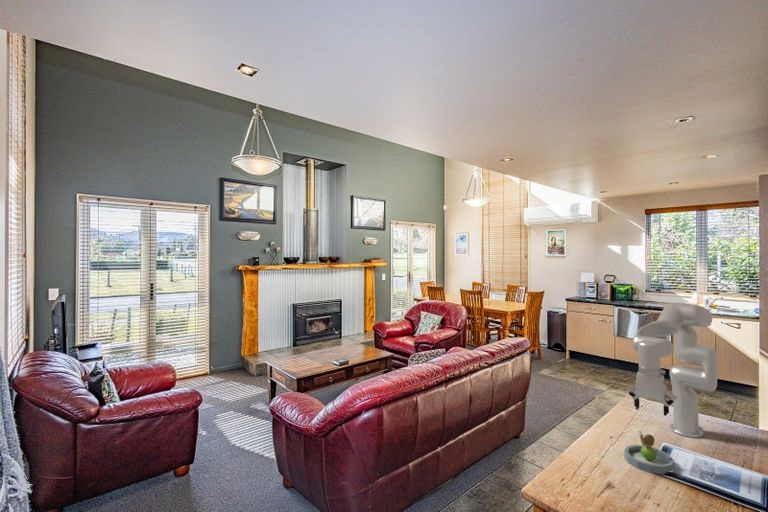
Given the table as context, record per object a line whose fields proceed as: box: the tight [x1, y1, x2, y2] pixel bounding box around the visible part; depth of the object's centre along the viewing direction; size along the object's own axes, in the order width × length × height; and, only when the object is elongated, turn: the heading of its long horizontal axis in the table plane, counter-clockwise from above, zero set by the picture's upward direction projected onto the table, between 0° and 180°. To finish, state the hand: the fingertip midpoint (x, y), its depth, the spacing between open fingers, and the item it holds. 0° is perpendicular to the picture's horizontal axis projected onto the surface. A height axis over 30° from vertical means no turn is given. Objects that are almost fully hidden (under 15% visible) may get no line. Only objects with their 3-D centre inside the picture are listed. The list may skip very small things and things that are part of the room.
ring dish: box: [623, 444, 675, 475], centre depth 156 cm, size 16×16×3 cm
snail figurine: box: [638, 430, 657, 460], centre depth 156 cm, size 5×6×12 cm
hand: (651, 411), depth 157 cm, fingers open, 9 cm apart
